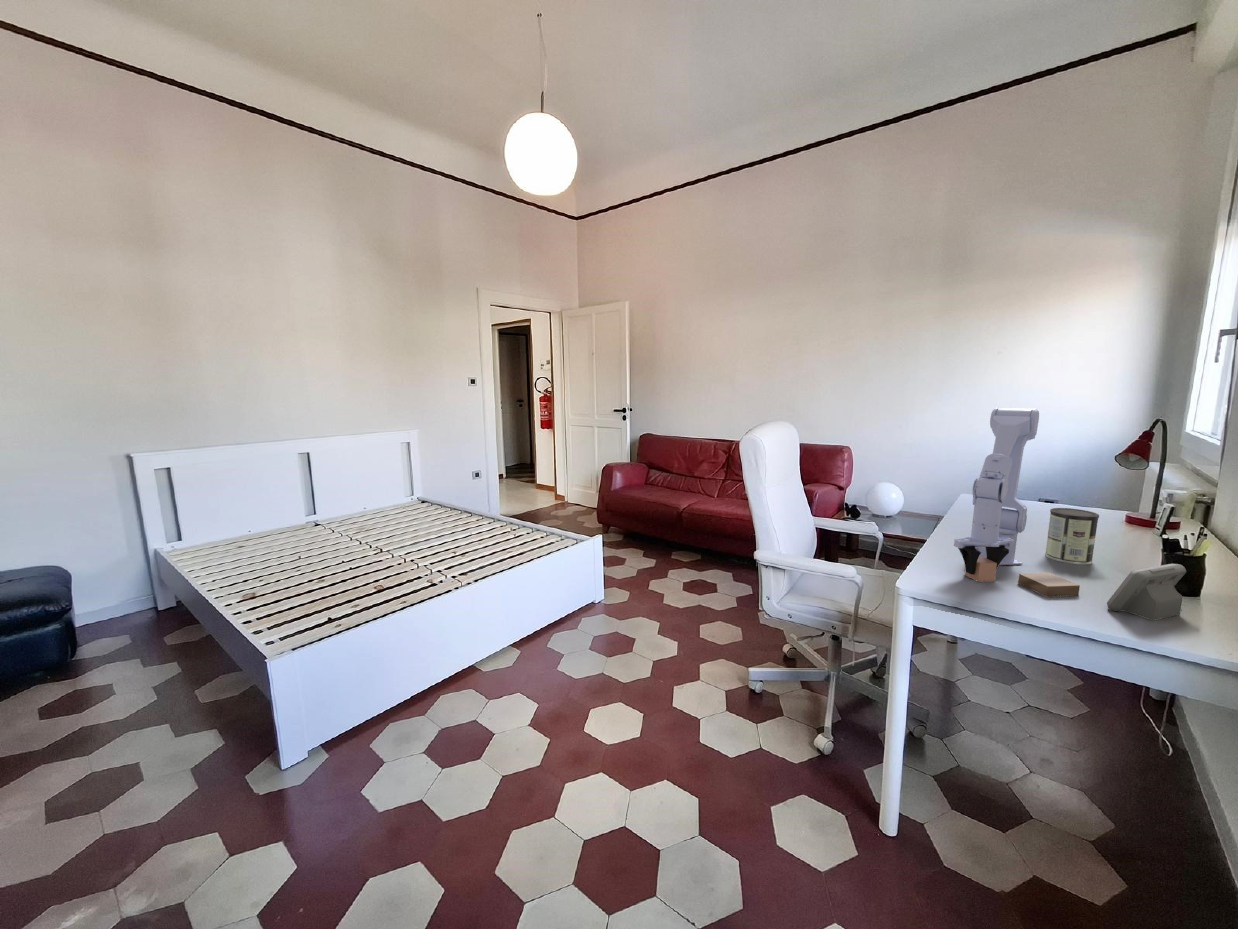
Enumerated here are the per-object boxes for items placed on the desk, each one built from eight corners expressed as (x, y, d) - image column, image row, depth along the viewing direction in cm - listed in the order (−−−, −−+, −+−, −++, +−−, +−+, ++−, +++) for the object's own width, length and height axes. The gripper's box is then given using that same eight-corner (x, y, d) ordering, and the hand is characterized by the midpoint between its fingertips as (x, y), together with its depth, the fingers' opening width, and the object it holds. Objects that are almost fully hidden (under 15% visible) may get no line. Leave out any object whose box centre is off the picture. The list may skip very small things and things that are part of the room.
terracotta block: (965, 575, 130) (967, 557, 129) (981, 574, 130) (983, 557, 129) (978, 581, 126) (980, 563, 125) (994, 581, 126) (996, 563, 125)
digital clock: (1153, 600, 114) (1160, 557, 112) (1201, 618, 105) (1210, 571, 103) (1090, 603, 113) (1096, 560, 111) (1134, 622, 104) (1142, 575, 102)
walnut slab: (1018, 584, 124) (1019, 573, 124) (1048, 583, 125) (1049, 572, 124) (1046, 598, 116) (1047, 586, 116) (1078, 597, 117) (1079, 585, 116)
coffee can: (1068, 552, 146) (1075, 507, 144) (1102, 564, 136) (1110, 516, 134) (1034, 552, 146) (1040, 507, 144) (1066, 565, 136) (1073, 517, 134)
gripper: (970, 528, 121) (964, 579, 124) (1026, 527, 122) (1019, 577, 124) (950, 520, 128) (945, 569, 130) (1003, 519, 129) (997, 567, 131)
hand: (980, 572), depth 128 cm, fingers open, 5 cm apart
